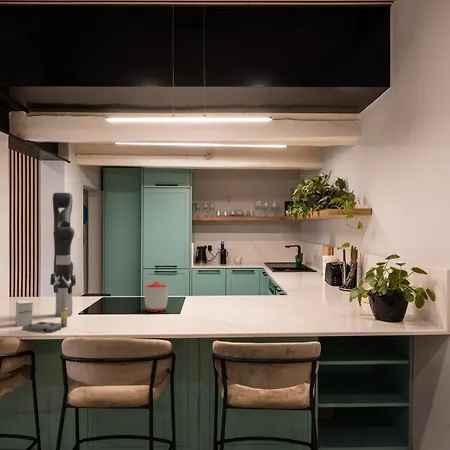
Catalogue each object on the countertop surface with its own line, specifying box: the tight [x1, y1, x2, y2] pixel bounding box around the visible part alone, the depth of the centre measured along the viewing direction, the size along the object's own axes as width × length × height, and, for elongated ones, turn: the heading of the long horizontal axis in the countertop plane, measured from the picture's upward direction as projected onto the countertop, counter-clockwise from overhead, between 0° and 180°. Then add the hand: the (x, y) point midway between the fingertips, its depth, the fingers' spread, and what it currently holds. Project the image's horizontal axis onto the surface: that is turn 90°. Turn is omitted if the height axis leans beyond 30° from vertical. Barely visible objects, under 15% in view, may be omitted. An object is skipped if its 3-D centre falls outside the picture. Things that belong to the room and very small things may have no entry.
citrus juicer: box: [144, 280, 169, 313], centre depth 277 cm, size 16×17×20 cm
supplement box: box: [15, 300, 34, 327], centre depth 232 cm, size 7×7×13 cm
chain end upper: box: [31, 321, 62, 333], centre depth 221 cm, size 7×13×4 cm, turn 76°
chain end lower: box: [21, 324, 47, 332], centre depth 222 cm, size 7×13×2 cm, turn 76°
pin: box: [60, 308, 68, 328], centre depth 228 cm, size 4×4×10 cm
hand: (62, 293), depth 228 cm, fingers open, 8 cm apart
